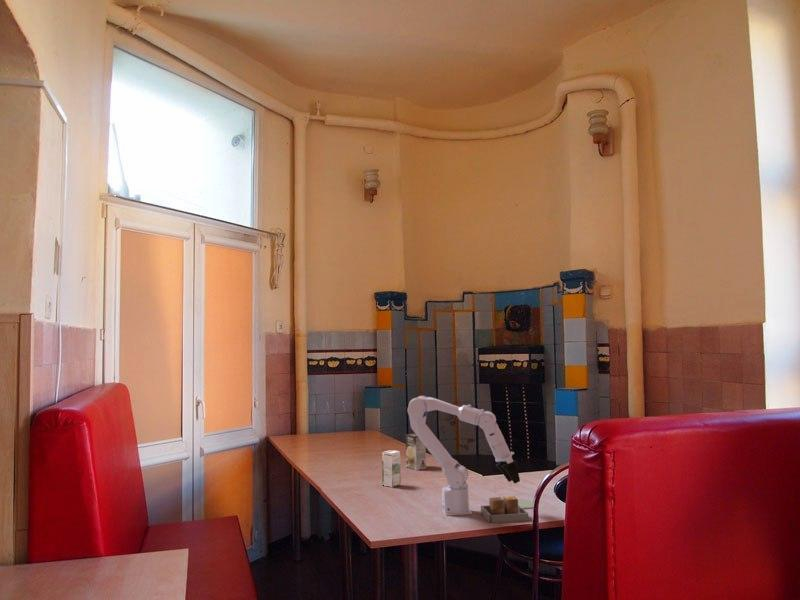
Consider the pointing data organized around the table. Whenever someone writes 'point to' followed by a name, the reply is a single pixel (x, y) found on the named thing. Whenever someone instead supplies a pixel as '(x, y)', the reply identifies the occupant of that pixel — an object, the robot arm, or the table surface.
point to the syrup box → (391, 468)
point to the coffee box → (415, 452)
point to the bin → (504, 515)
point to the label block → (510, 505)
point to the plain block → (496, 506)
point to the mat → (525, 504)
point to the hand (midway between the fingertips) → (514, 481)
